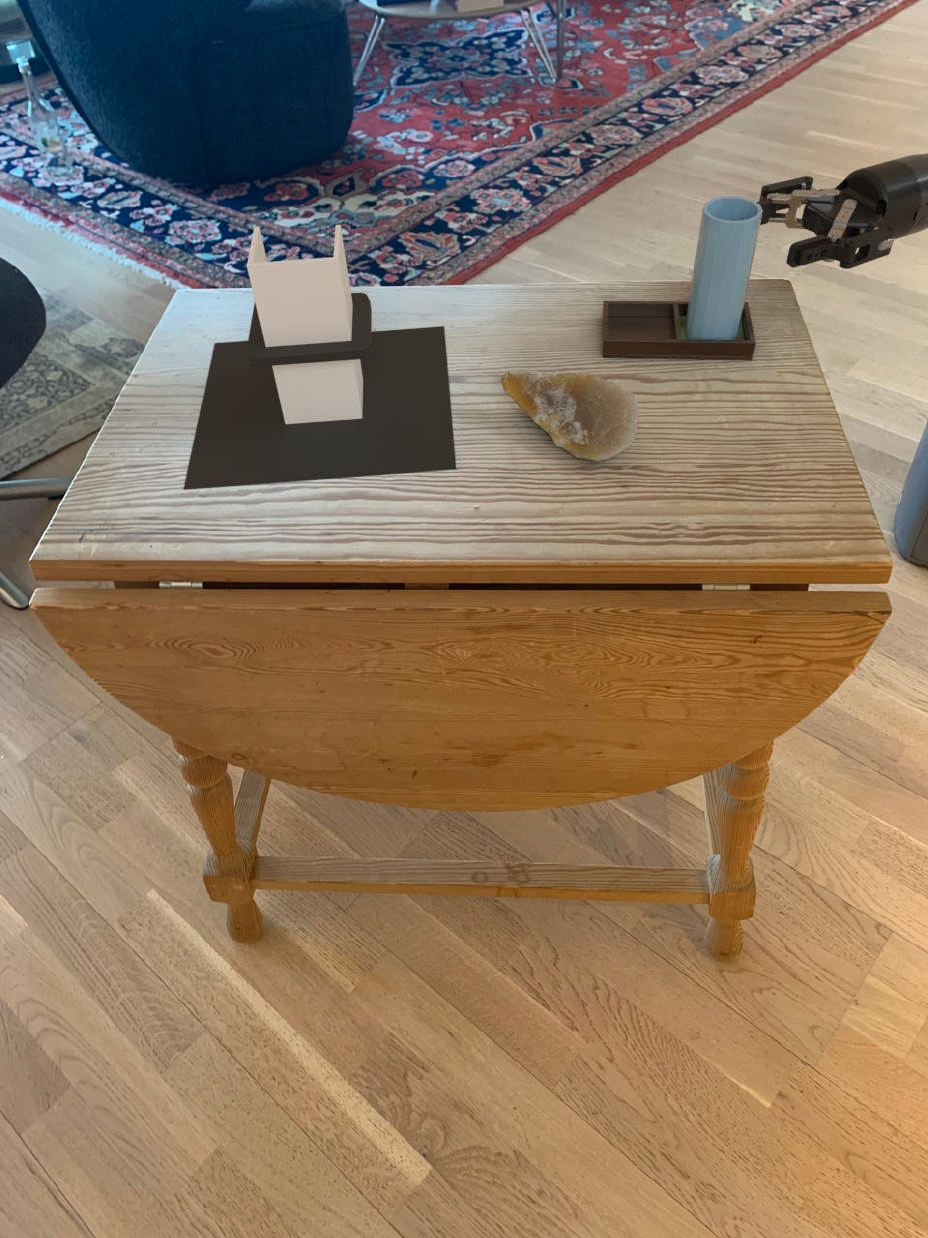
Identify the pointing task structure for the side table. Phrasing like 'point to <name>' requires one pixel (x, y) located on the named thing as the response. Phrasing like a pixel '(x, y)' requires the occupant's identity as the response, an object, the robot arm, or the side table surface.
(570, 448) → the stone
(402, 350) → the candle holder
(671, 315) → the tray
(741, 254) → the cup
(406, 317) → the side table surface
